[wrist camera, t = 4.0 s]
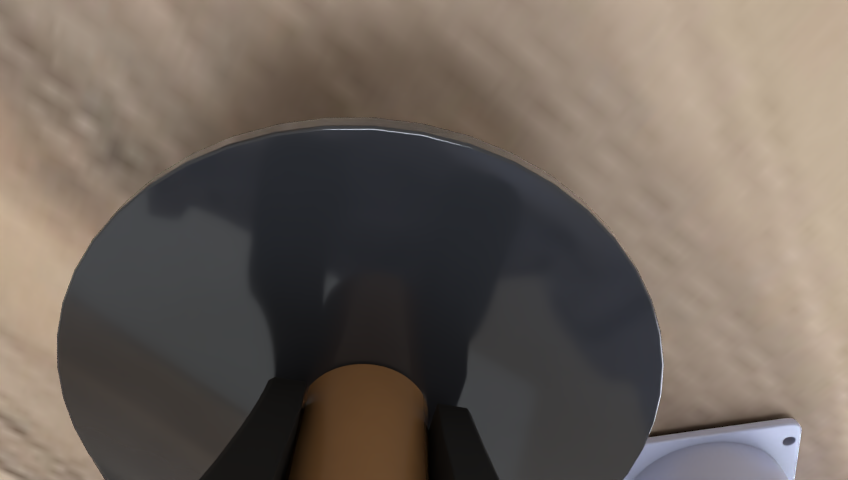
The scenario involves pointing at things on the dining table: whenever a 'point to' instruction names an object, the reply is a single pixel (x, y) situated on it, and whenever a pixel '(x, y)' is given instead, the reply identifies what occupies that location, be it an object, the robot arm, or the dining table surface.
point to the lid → (359, 310)
